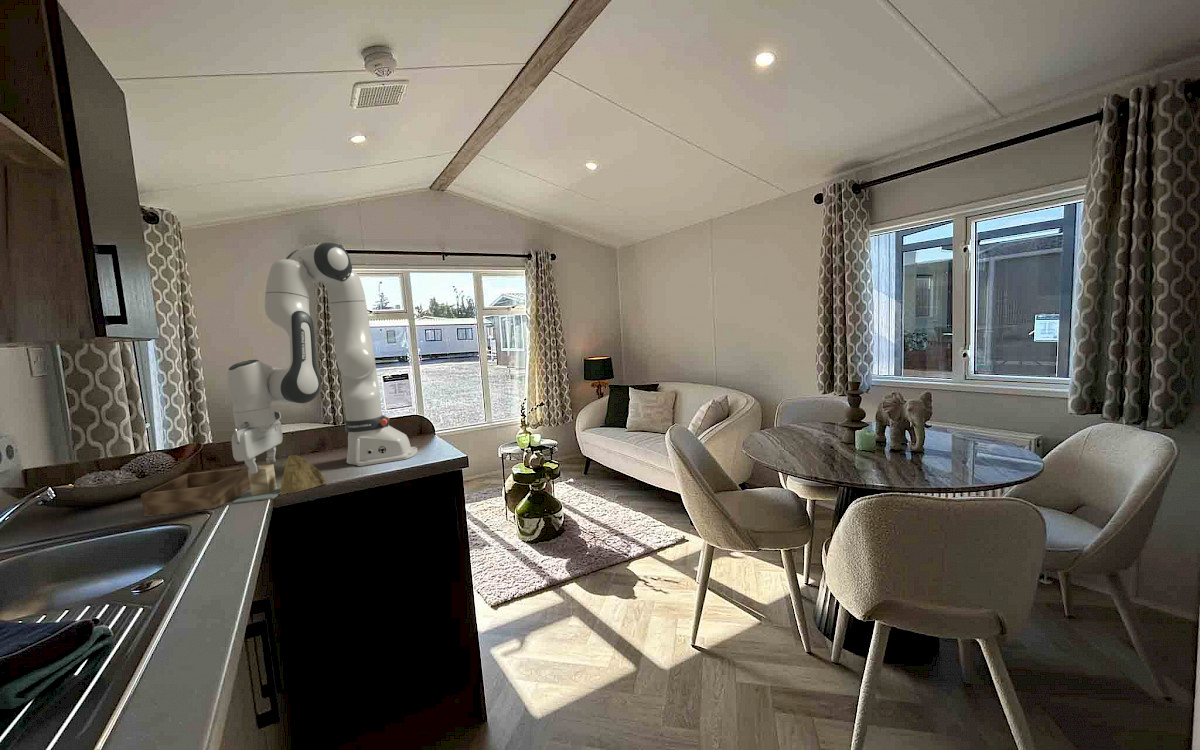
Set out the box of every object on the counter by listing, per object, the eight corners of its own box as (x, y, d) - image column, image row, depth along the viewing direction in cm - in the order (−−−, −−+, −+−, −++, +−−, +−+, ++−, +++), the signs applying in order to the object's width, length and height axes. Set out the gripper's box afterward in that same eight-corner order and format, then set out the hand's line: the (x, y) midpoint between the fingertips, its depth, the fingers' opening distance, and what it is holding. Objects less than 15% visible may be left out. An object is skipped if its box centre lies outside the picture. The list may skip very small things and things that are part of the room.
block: (277, 488, 143) (273, 464, 142) (269, 493, 138) (265, 468, 138) (260, 490, 142) (256, 466, 141) (251, 495, 138) (247, 470, 137)
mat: (294, 484, 147) (294, 482, 147) (272, 499, 135) (272, 497, 135) (257, 488, 146) (257, 486, 146) (232, 503, 133) (231, 502, 133)
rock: (334, 472, 148) (299, 470, 148) (325, 454, 143) (289, 452, 142) (318, 504, 141) (282, 502, 140) (308, 486, 135) (270, 485, 134)
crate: (251, 486, 148) (248, 467, 147) (215, 508, 131) (212, 486, 130) (189, 494, 146) (186, 474, 145) (144, 516, 128) (140, 494, 128)
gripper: (247, 425, 128) (257, 477, 130) (283, 411, 148) (291, 456, 150) (220, 428, 127) (230, 481, 129) (260, 414, 147) (268, 459, 149)
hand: (263, 467), depth 140 cm, fingers open, 8 cm apart
